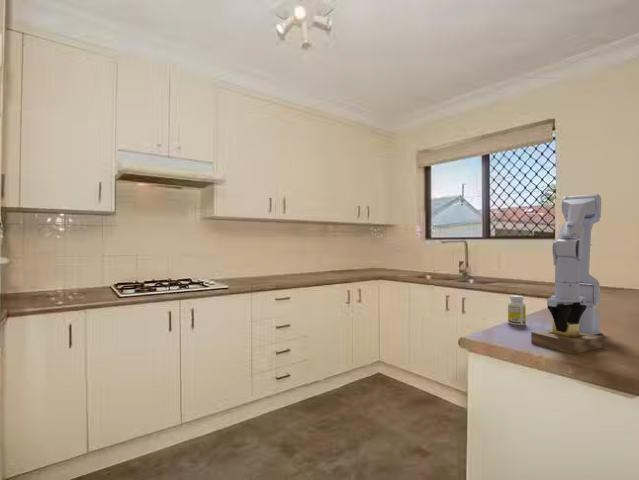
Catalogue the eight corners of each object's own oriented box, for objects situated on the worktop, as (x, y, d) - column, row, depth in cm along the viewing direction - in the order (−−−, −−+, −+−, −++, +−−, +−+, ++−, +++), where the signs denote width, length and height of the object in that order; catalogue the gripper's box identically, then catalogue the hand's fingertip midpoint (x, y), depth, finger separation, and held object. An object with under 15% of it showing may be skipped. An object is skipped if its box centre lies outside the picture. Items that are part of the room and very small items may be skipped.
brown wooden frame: (561, 337, 108) (561, 327, 108) (603, 347, 98) (603, 336, 98) (531, 342, 102) (531, 332, 102) (572, 354, 92) (572, 342, 92)
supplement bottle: (519, 322, 128) (519, 294, 128) (528, 325, 123) (529, 297, 123) (504, 322, 128) (505, 294, 128) (513, 325, 122) (513, 297, 122)
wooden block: (562, 334, 103) (562, 320, 103) (579, 338, 99) (579, 323, 99) (552, 335, 101) (552, 321, 101) (569, 339, 97) (569, 325, 97)
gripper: (567, 279, 106) (567, 324, 106) (536, 281, 100) (535, 329, 100) (594, 282, 100) (593, 330, 100) (562, 284, 94) (562, 335, 94)
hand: (566, 330), depth 100 cm, fingers closed on wooden block, 4 cm apart
